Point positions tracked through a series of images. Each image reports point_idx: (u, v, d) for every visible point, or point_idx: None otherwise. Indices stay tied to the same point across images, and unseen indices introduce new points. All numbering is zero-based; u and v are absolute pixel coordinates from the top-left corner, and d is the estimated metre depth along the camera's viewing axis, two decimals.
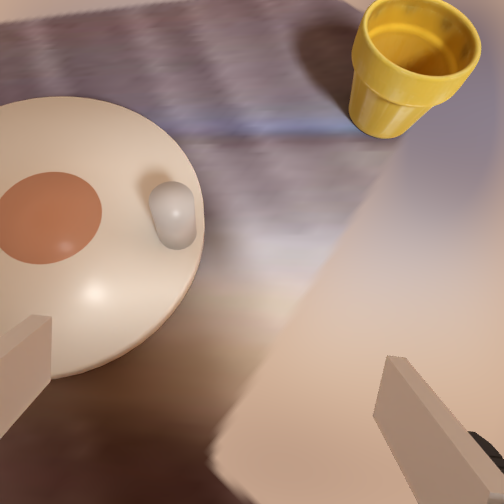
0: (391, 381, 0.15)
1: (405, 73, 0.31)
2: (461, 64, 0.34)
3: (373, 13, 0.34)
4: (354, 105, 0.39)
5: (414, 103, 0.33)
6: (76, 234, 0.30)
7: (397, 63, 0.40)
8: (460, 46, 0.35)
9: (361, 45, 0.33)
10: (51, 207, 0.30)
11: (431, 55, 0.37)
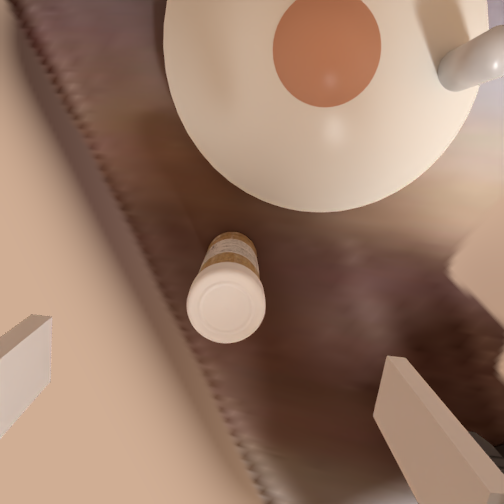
0: (391, 381, 0.15)
1: None
2: None
3: None
4: None
5: None
6: (357, 73, 0.29)
7: None
8: None
9: None
10: (330, 39, 0.28)
11: None
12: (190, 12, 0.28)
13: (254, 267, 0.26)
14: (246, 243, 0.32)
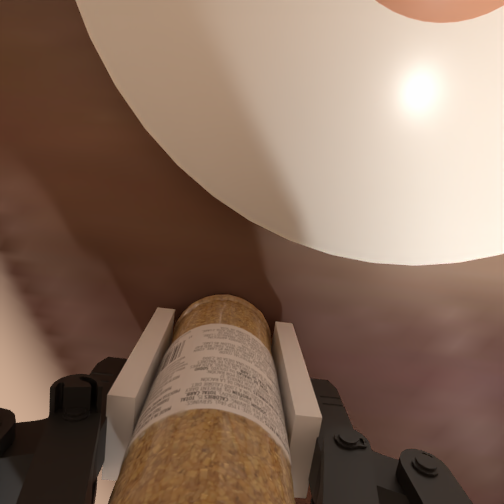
0: (274, 342, 0.16)
1: None
2: None
3: None
4: None
5: None
6: None
7: None
8: None
9: None
10: None
11: None
12: None
13: (279, 452, 0.09)
14: (252, 330, 0.15)
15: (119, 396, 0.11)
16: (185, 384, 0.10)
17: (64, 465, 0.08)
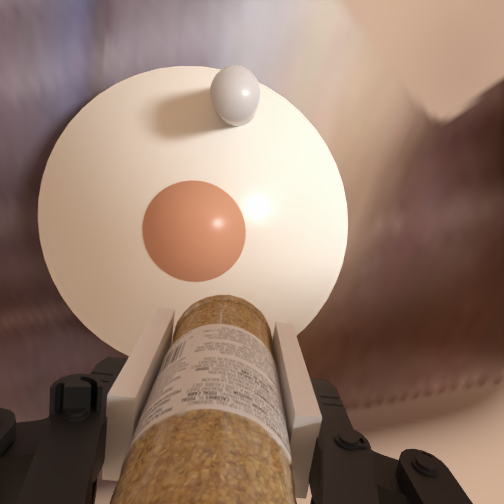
0: (274, 342, 0.16)
1: None
2: None
3: None
4: None
5: None
6: (220, 208, 0.30)
7: None
8: None
9: None
10: (185, 228, 0.30)
11: None
12: None
13: (280, 453, 0.09)
14: (252, 330, 0.15)
15: (119, 396, 0.11)
16: (186, 384, 0.10)
17: (64, 465, 0.08)
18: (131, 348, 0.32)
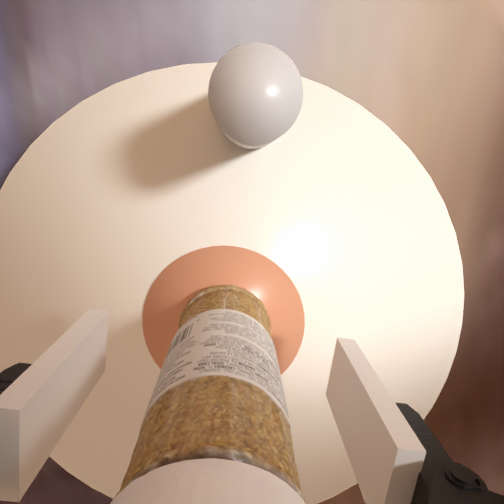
0: (339, 360, 0.16)
1: None
2: None
3: None
4: None
5: None
6: (256, 280, 0.19)
7: None
8: None
9: None
10: None
11: None
12: None
13: (280, 413, 0.11)
14: (253, 315, 0.16)
15: (2, 408, 0.09)
16: (196, 357, 0.12)
17: None
18: None
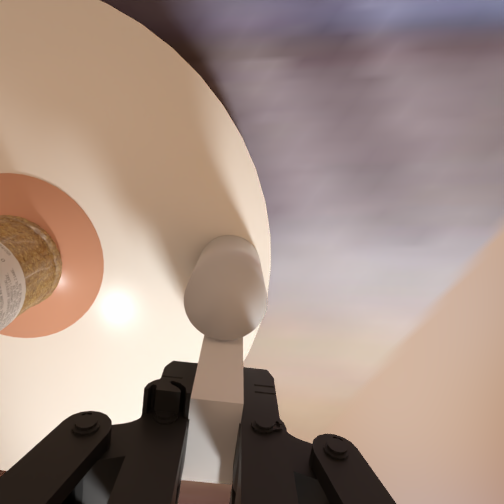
0: None
1: None
2: None
3: None
4: None
5: None
6: (72, 286, 0.19)
7: None
8: None
9: None
10: None
11: None
12: None
13: None
14: (26, 304, 0.16)
15: (201, 399, 0.11)
16: None
17: (153, 466, 0.08)
18: None
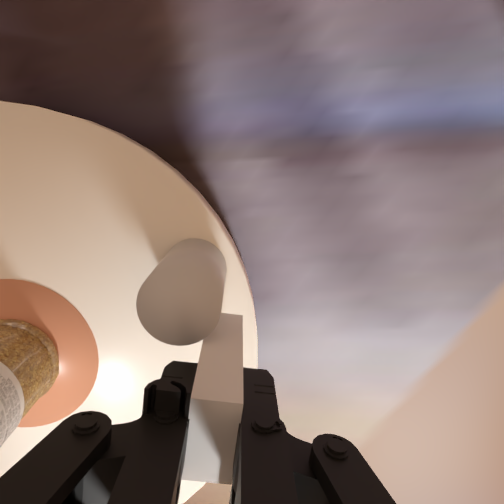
0: None
1: None
2: None
3: None
4: None
5: None
6: (73, 356, 0.19)
7: None
8: None
9: None
10: None
11: None
12: None
13: None
14: (29, 392, 0.17)
15: (201, 399, 0.11)
16: None
17: (153, 466, 0.08)
18: None
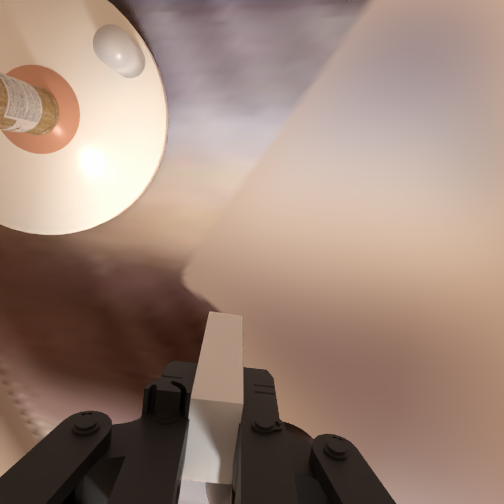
0: None
1: None
2: None
3: None
4: None
5: None
6: (66, 110, 0.37)
7: None
8: None
9: None
10: None
11: None
12: None
13: (4, 107, 0.29)
14: (44, 108, 0.34)
15: (201, 399, 0.11)
16: (3, 75, 0.29)
17: (153, 466, 0.08)
18: None
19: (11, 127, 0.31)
